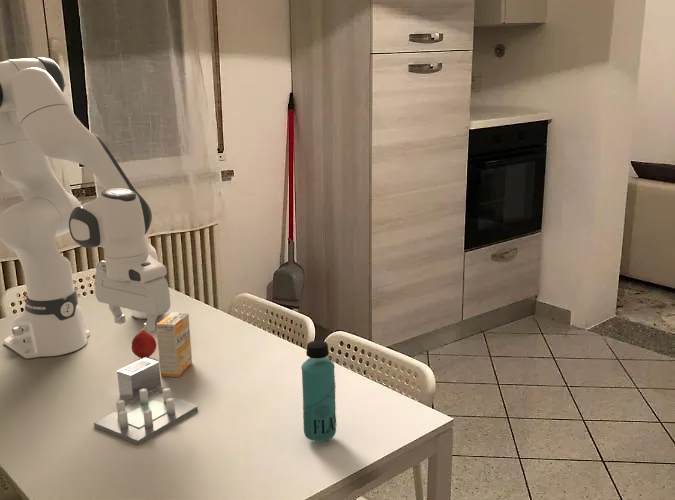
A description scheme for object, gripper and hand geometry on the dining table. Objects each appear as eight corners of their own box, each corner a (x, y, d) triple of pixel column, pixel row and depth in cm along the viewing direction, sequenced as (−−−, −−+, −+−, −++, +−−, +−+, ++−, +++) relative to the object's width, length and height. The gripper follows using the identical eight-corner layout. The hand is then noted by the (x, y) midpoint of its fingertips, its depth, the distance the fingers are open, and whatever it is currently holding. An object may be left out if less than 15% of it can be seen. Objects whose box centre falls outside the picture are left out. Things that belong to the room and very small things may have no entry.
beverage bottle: (310, 452, 131) (307, 353, 126) (298, 435, 137) (294, 340, 132) (342, 444, 134) (340, 346, 128) (328, 428, 140) (326, 334, 134)
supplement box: (179, 377, 163) (174, 325, 159) (160, 376, 164) (155, 323, 160) (193, 362, 171) (189, 312, 167) (174, 361, 172) (170, 311, 168)
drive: (119, 395, 155) (116, 370, 153) (147, 381, 161) (145, 357, 160) (133, 400, 153) (130, 374, 151) (161, 386, 159) (158, 361, 157)
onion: (139, 366, 169) (136, 335, 167) (128, 359, 173) (125, 328, 171) (161, 359, 173) (158, 329, 171) (150, 352, 177) (147, 322, 175)
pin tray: (94, 427, 142) (92, 409, 141) (154, 395, 155) (153, 378, 154) (138, 445, 135) (136, 426, 134) (197, 410, 148) (196, 393, 147)
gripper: (83, 263, 152) (92, 323, 156) (148, 276, 141) (156, 340, 145) (107, 256, 157) (115, 314, 161) (172, 268, 146) (178, 330, 150)
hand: (134, 326), depth 153 cm, fingers open, 8 cm apart
